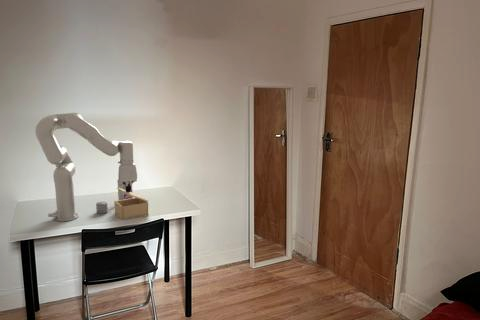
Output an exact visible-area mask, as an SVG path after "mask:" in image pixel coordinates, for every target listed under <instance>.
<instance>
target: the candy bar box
mask: <svg viewBox="0 0 480 320" xmlns="http://www.w3.org/2000/svg"><path fill="white" fill-rule="evenodd" d="M116 182H117V188H121V189H124V190H125V185H124V184H120V183H119V178H118V179H117V181H116ZM127 183H128V182H127ZM131 192H132V193H133V184H132V185H131ZM117 197H118V199H117V200H118V201H119V200H125V199H131V198H134V197H132V196H129V195H126V194H124V193H123V192H121V191H120V190H118V189H117Z"/></svg>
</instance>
